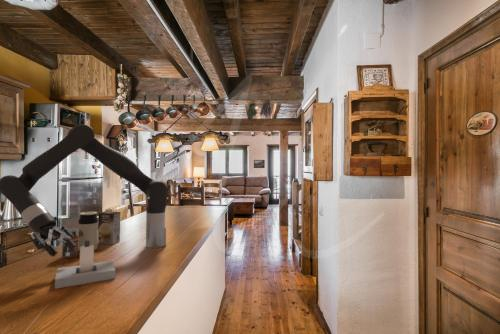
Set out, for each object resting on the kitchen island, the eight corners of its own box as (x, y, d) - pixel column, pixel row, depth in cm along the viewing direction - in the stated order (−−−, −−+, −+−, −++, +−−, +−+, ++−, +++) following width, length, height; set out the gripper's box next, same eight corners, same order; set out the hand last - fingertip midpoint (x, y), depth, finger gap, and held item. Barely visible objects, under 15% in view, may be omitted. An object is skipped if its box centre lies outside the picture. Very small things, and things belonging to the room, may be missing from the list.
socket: (112, 268, 113) (112, 260, 113) (115, 278, 102) (115, 270, 102) (57, 276, 103) (57, 268, 103) (54, 288, 93) (55, 279, 93)
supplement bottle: (70, 259, 123) (70, 233, 123) (58, 258, 124) (59, 232, 124) (81, 255, 129) (81, 230, 129) (69, 254, 130) (70, 229, 130)
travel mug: (94, 246, 143) (94, 211, 143) (99, 250, 137) (99, 212, 137) (76, 249, 137) (76, 212, 137) (80, 253, 131) (81, 214, 131)
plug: (85, 274, 106) (86, 239, 106) (96, 274, 105) (96, 239, 105) (76, 278, 101) (77, 242, 101) (87, 279, 100) (88, 242, 101)
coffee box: (97, 243, 149) (97, 212, 149) (105, 240, 155) (105, 211, 156) (112, 244, 148) (113, 213, 148) (120, 241, 154) (121, 211, 154)
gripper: (27, 215, 99) (55, 250, 97) (60, 209, 113) (85, 240, 111) (13, 229, 99) (41, 264, 97) (48, 222, 113) (73, 252, 111)
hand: (65, 251), depth 104 cm, fingers open, 8 cm apart
